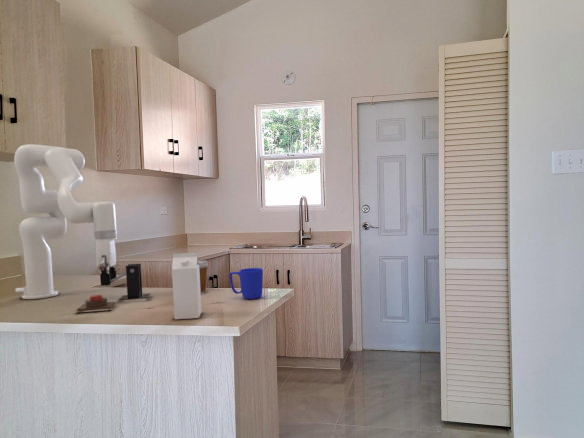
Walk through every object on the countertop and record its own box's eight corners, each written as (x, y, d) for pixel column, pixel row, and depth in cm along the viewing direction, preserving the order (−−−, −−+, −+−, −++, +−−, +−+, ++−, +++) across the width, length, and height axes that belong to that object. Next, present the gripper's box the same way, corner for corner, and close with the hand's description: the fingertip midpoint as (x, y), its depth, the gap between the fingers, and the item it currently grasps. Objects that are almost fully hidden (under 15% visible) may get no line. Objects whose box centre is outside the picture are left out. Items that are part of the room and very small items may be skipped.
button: (89, 302, 153) (88, 297, 153) (92, 300, 157) (91, 295, 157) (100, 301, 154) (100, 296, 154) (103, 299, 157) (102, 294, 157)
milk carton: (178, 314, 144) (175, 252, 143) (201, 312, 144) (198, 251, 144) (174, 320, 137) (170, 255, 136) (199, 318, 137) (195, 254, 136)
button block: (77, 314, 150) (76, 303, 150) (84, 308, 158) (83, 298, 158) (109, 311, 152) (109, 301, 152) (115, 306, 160) (114, 296, 160)
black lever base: (118, 302, 166) (116, 267, 165) (123, 298, 174) (121, 264, 173) (147, 300, 167) (145, 265, 167) (151, 296, 175) (149, 262, 175)
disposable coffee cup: (211, 293, 175) (209, 262, 175) (185, 296, 172) (183, 264, 172) (207, 289, 184) (206, 259, 184) (183, 292, 181) (181, 261, 181)
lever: (106, 287, 166) (103, 281, 166) (109, 285, 171) (106, 279, 171) (137, 271, 168) (134, 265, 168) (139, 269, 173) (136, 264, 173)
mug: (234, 295, 169) (233, 268, 169) (266, 295, 167) (265, 267, 167) (226, 300, 161) (225, 271, 161) (260, 300, 159) (259, 271, 158)
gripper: (100, 235, 176) (103, 280, 177) (88, 237, 159) (91, 287, 160) (121, 234, 177) (124, 278, 178) (111, 236, 160) (114, 285, 161)
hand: (109, 283), depth 169 cm, fingers open, 9 cm apart
